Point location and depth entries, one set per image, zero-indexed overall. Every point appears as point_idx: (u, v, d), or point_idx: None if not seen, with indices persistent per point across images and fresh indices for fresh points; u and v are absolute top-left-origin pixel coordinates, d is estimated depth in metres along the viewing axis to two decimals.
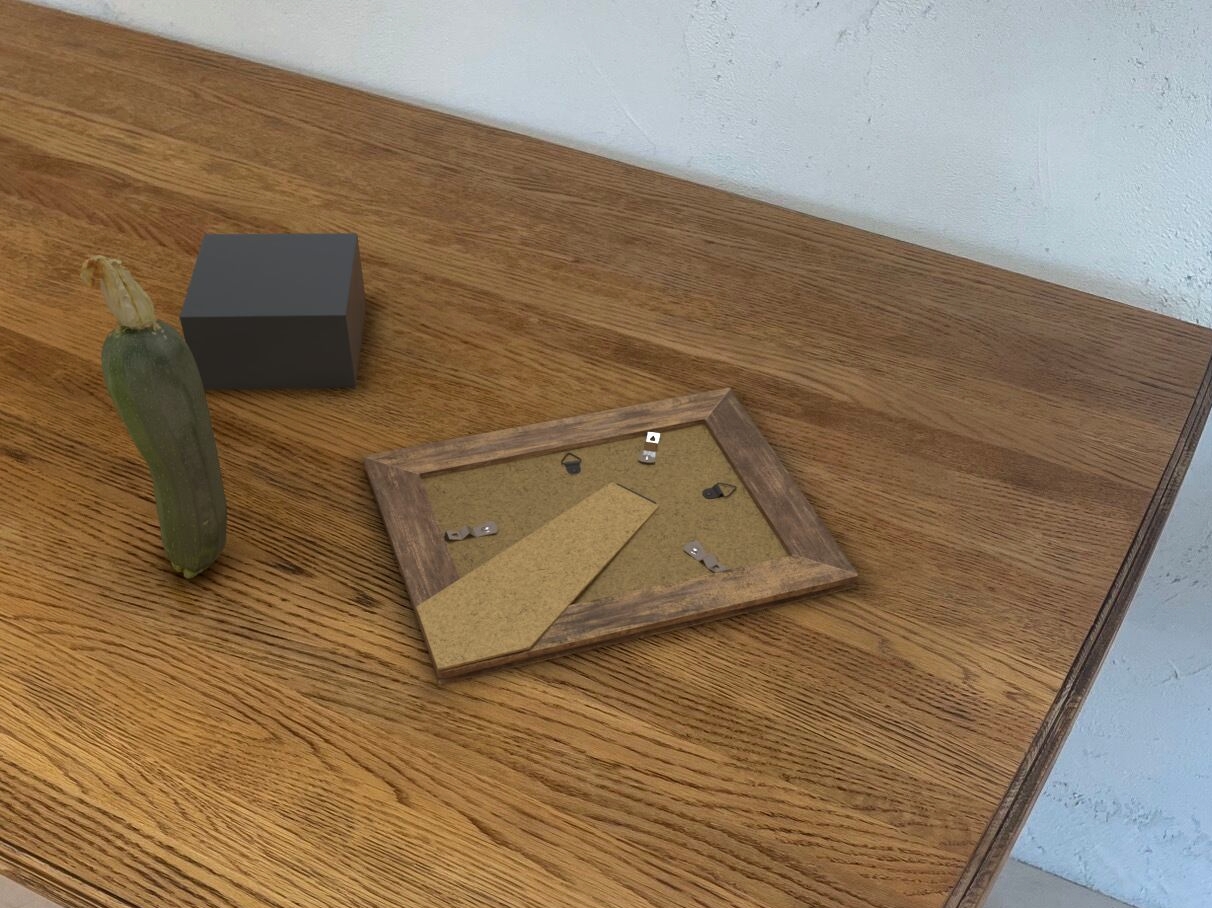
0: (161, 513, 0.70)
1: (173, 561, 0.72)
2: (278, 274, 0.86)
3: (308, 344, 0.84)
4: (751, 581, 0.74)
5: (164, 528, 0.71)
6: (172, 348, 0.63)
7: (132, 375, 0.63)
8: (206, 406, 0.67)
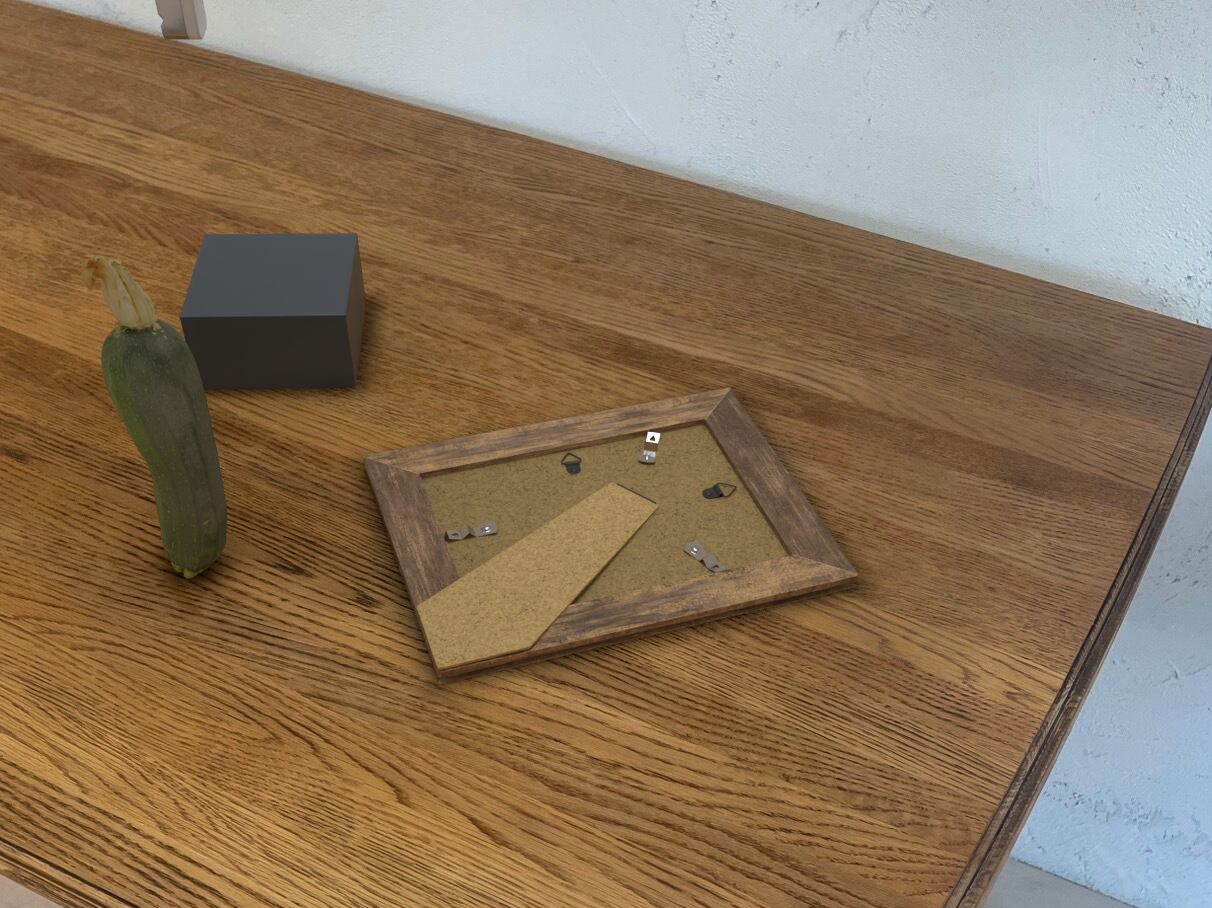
0: (161, 513, 0.70)
1: (173, 561, 0.72)
2: (278, 274, 0.86)
3: (308, 344, 0.84)
4: (751, 581, 0.74)
5: (164, 528, 0.71)
6: (172, 348, 0.63)
7: (132, 375, 0.63)
8: (206, 406, 0.67)
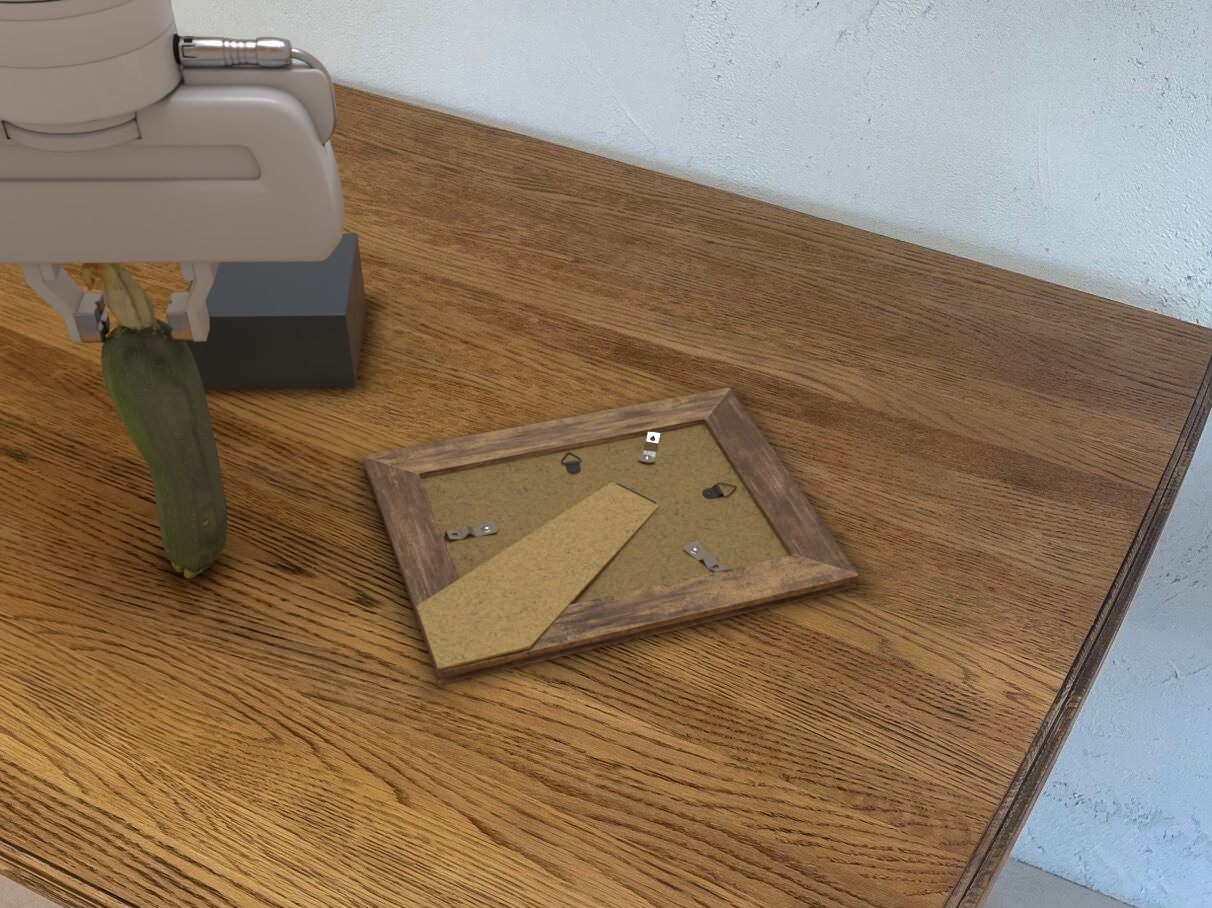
0: (161, 513, 0.70)
1: (173, 561, 0.72)
2: (278, 274, 0.86)
3: (308, 344, 0.84)
4: (751, 581, 0.74)
5: (164, 528, 0.71)
6: (172, 348, 0.63)
7: (132, 375, 0.63)
8: (206, 406, 0.67)
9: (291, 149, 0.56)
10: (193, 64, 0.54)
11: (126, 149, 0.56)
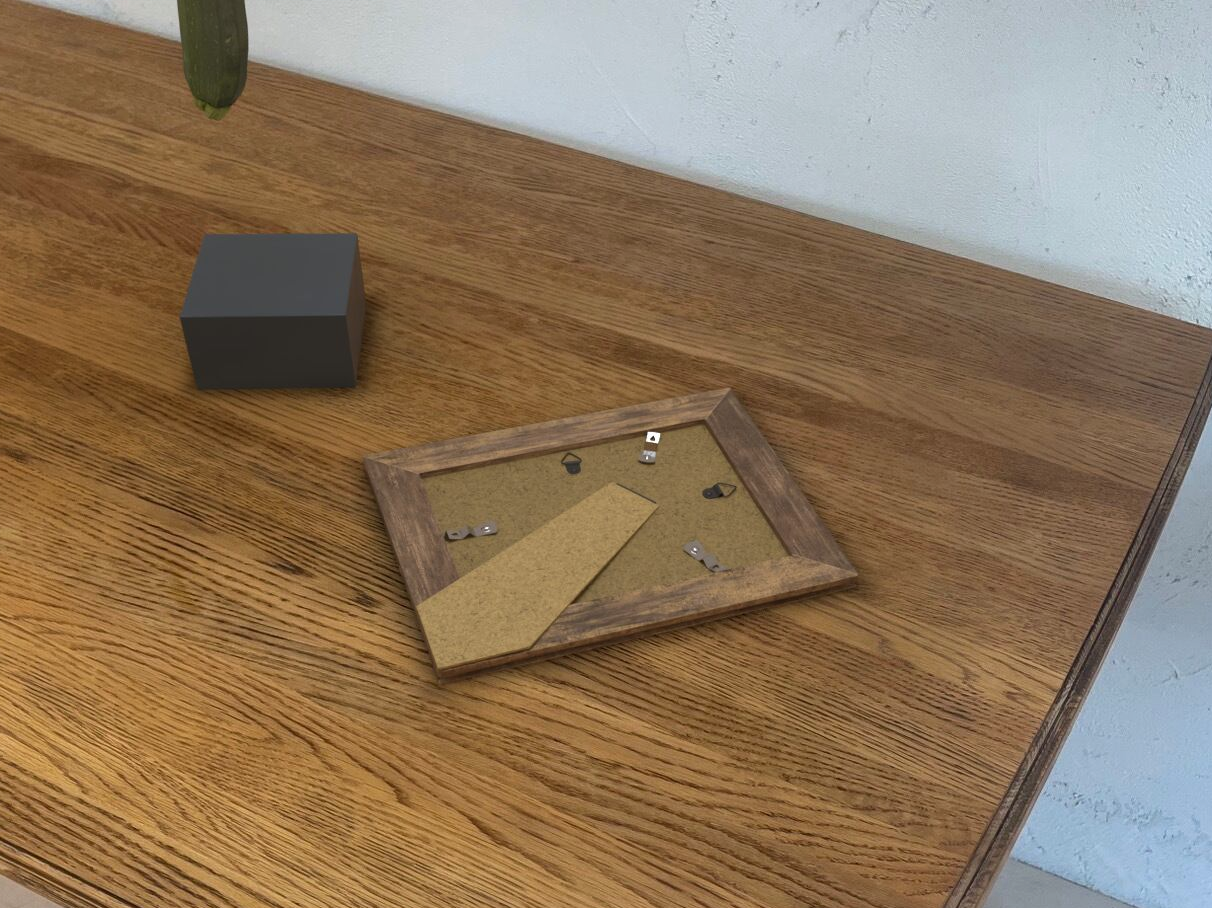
0: (184, 28, 0.71)
1: (195, 91, 0.74)
2: (278, 274, 0.86)
3: (308, 344, 0.84)
4: (751, 581, 0.74)
5: (187, 48, 0.72)
6: None
7: None
8: None
9: None
10: None
11: None
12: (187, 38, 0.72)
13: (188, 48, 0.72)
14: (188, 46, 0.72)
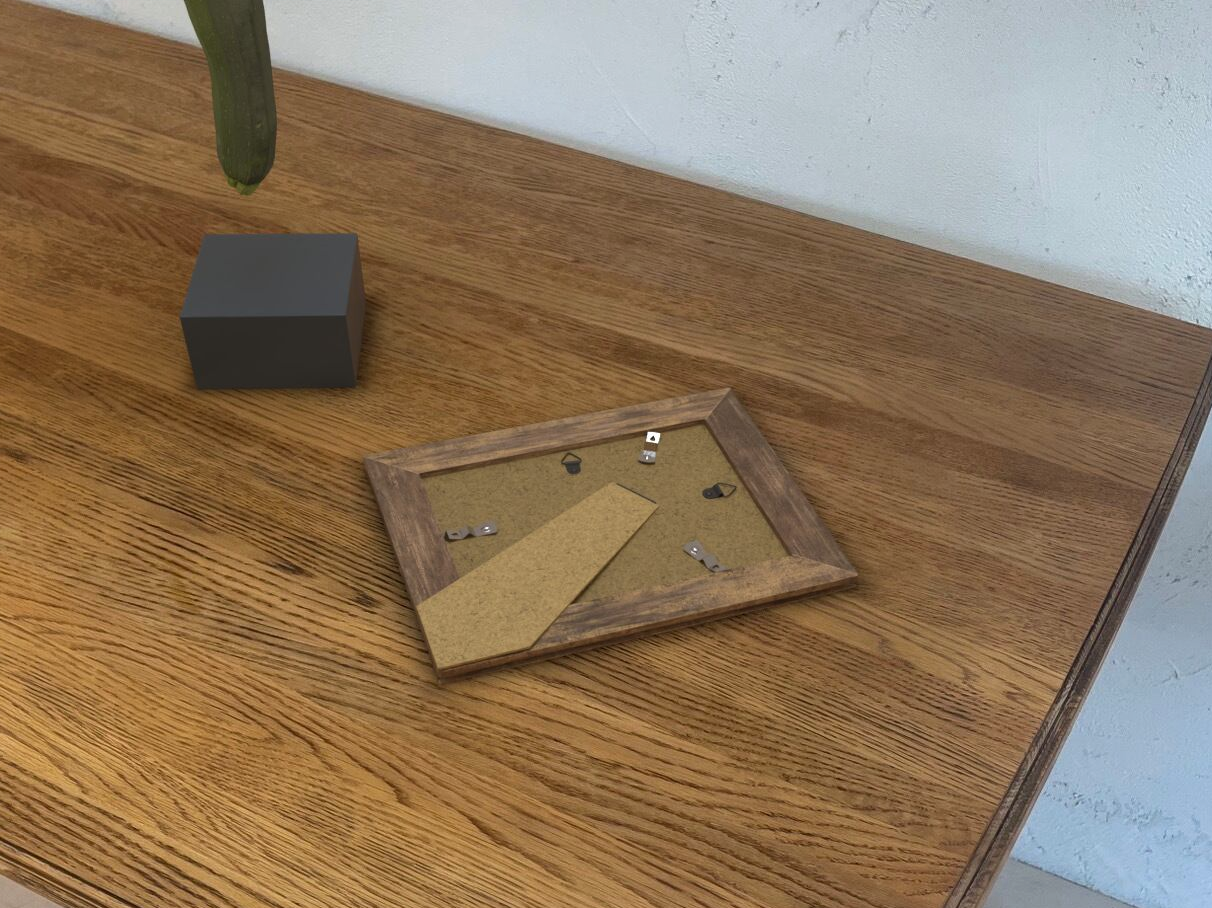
0: (219, 115, 0.77)
1: (228, 171, 0.80)
2: (278, 274, 0.86)
3: (308, 344, 0.84)
4: (751, 581, 0.74)
5: (221, 132, 0.78)
6: None
7: None
8: (262, 0, 0.74)
9: None
10: None
11: None
12: (221, 124, 0.78)
13: (222, 133, 0.78)
14: (222, 131, 0.78)
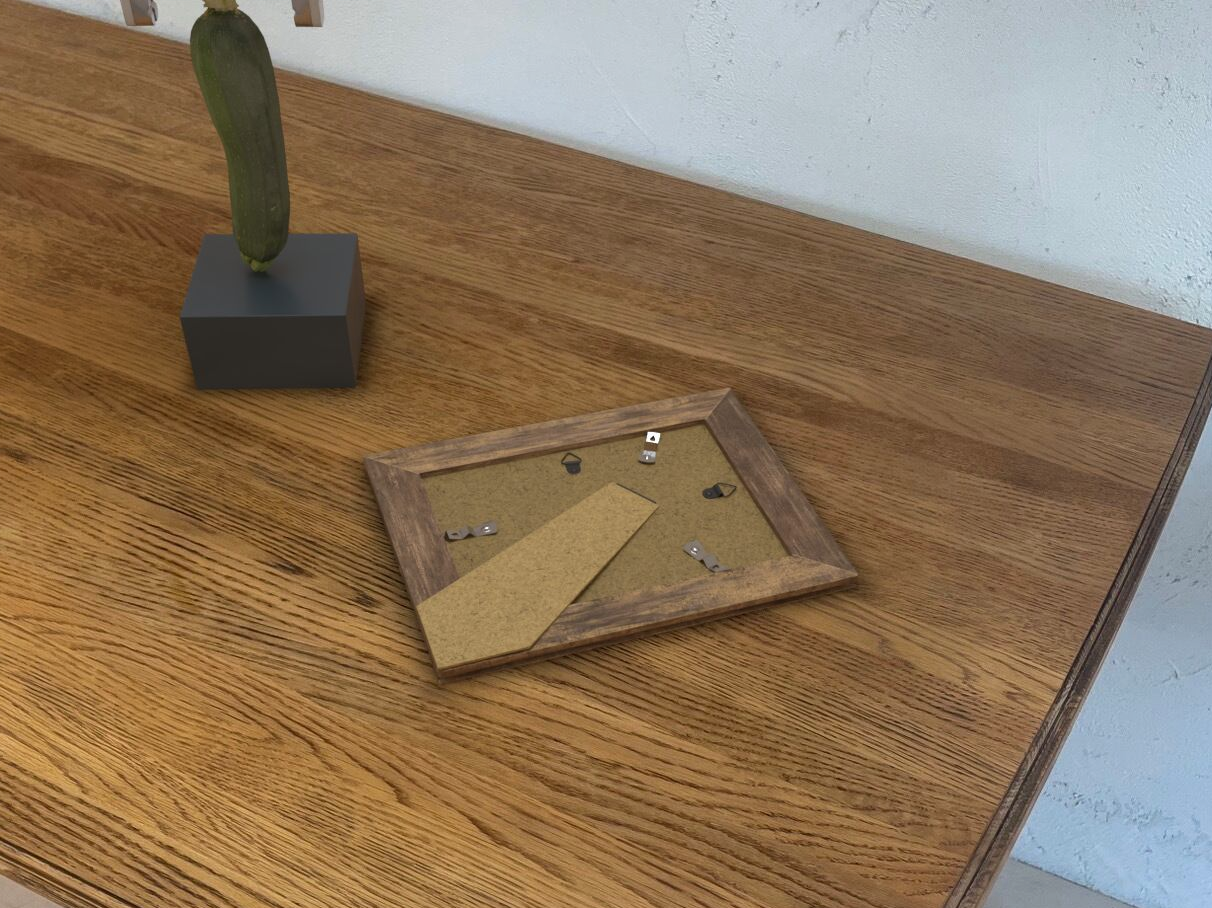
0: (235, 199, 0.81)
1: (243, 250, 0.84)
2: (278, 274, 0.86)
3: (308, 344, 0.84)
4: (751, 581, 0.74)
5: (237, 215, 0.82)
6: (250, 31, 0.75)
7: (218, 51, 0.74)
8: (277, 93, 0.78)
9: None
10: None
11: None
12: (237, 207, 0.81)
13: (238, 215, 0.82)
14: (238, 213, 0.82)
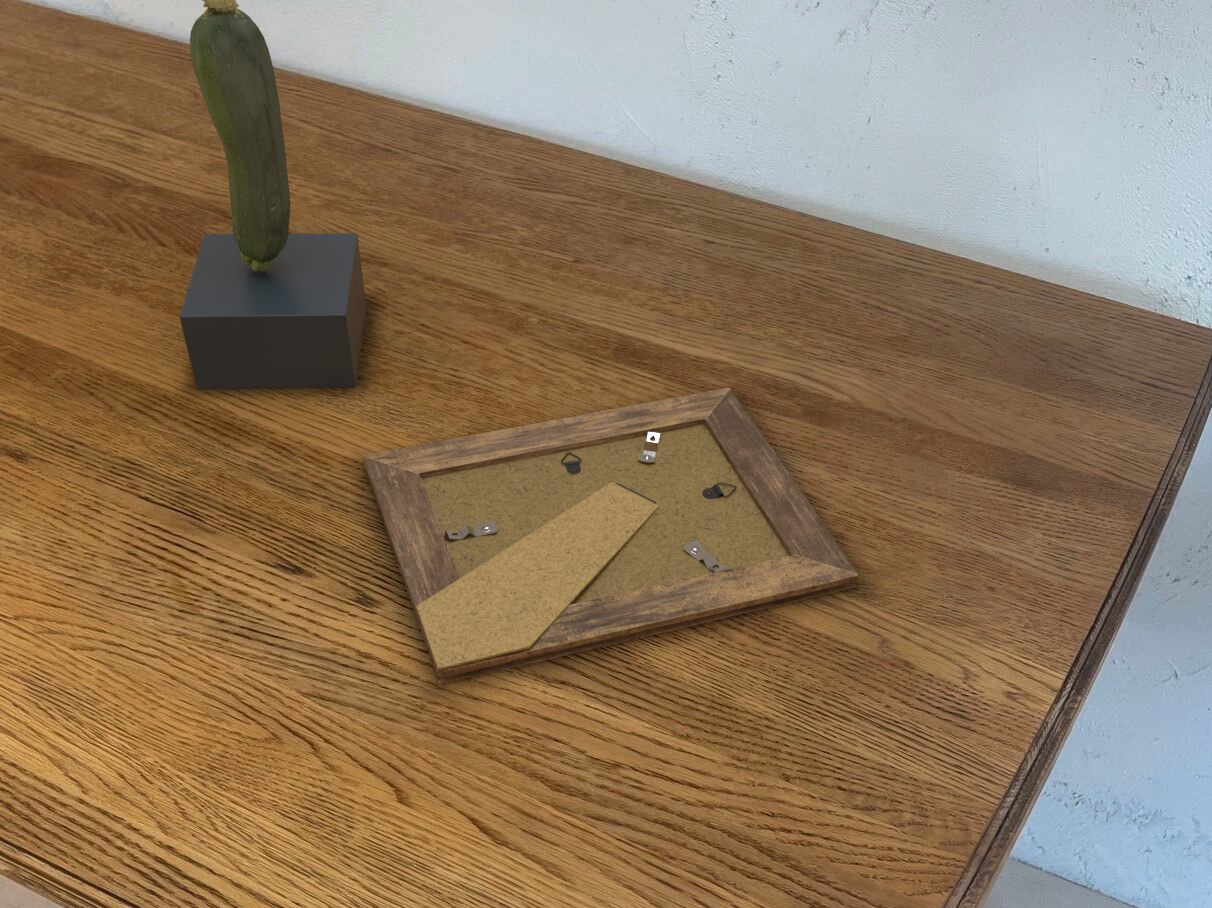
0: (235, 199, 0.81)
1: (243, 250, 0.84)
2: (278, 274, 0.86)
3: (308, 344, 0.84)
4: (751, 581, 0.74)
5: (237, 215, 0.82)
6: (250, 31, 0.75)
7: (218, 51, 0.74)
8: (277, 93, 0.78)
9: None
10: None
11: None
12: (237, 207, 0.81)
13: (238, 215, 0.82)
14: (238, 213, 0.82)
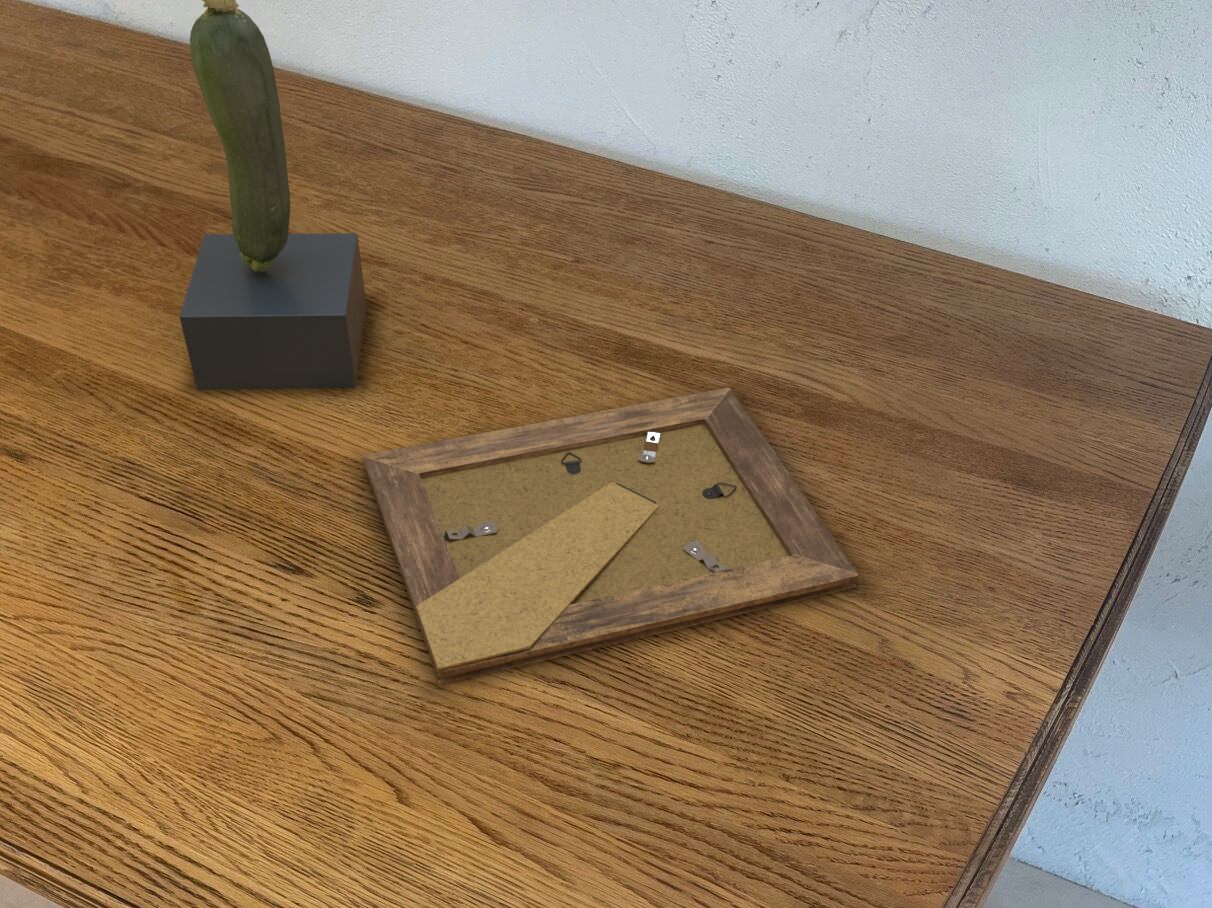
0: (235, 199, 0.81)
1: (243, 250, 0.84)
2: (278, 274, 0.86)
3: (308, 344, 0.84)
4: (751, 581, 0.74)
5: (237, 215, 0.82)
6: (250, 31, 0.75)
7: (218, 51, 0.74)
8: (277, 93, 0.78)
9: None
10: None
11: None
12: (237, 207, 0.81)
13: (238, 215, 0.82)
14: (238, 213, 0.82)
